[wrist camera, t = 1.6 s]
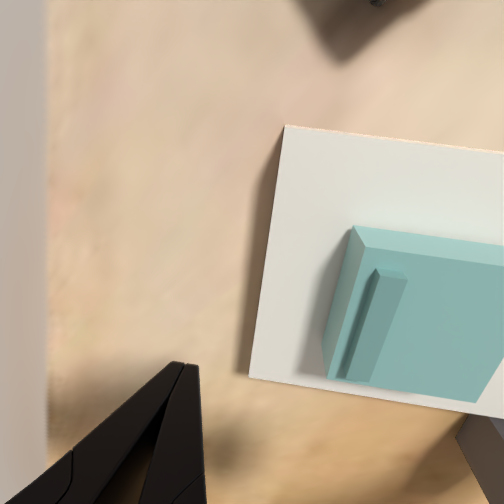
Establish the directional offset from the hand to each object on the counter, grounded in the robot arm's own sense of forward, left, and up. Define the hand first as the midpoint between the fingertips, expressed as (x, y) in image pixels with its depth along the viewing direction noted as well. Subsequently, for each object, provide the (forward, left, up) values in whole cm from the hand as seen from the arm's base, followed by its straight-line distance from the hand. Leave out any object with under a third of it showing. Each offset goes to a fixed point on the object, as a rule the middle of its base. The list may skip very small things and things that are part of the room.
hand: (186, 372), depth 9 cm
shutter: (-9, 0, -6) cm, 11 cm away
